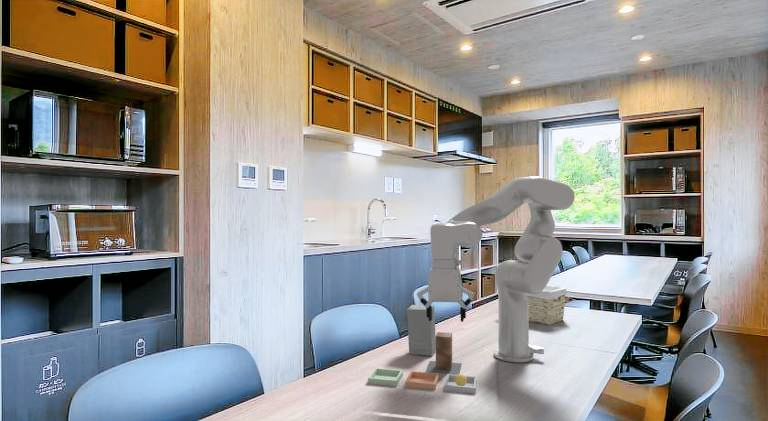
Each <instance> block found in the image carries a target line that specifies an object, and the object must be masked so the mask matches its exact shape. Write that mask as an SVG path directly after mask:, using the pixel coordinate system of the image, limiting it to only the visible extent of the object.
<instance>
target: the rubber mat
mask: <svg viewBox="0 0 768 421" xmlns="http://www.w3.org/2000/svg"><path fill="white" fill-rule="evenodd" d="M462 365H463V364H462V363H461V362H452V368H451V371H448V370H436V360H429V362H428V364H427V367H426V369H425V371H424V372H429V373H439V374H443V375H447V374H453V375H458V374H461V369H462Z"/></svg>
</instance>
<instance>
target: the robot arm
mask: <svg viewBox="0 0 768 421" xmlns="http://www.w3.org/2000/svg"><path fill="white" fill-rule="evenodd" d="M574 203H575V193H574V190H573V188H571V186H570V185H568V184H566V183H563V182H560V181H559V182H558V181H556V180H552V179H549V178H545V177H541V176H522V177H516V178H513V179H512V180H510V181H508V182H507V183H506V184H504V185H503V186H502V187H501V188H499V189H498V190H496V191H495V192H493V194H491V195H490V196H488V197H487V198H485V199H484V200H481V201H479V202H478V203H476V204H474V205H471V206H469V207H467V208H465V209H464V210H461V211H460V212H458V213H457V214H455V215H454V216H453V217H451V219H449V220H448V221H447V222H446V223H443V222H442V223H434V224H432V225H431V226H430V228H429V229H430V232H429V233H430V250H431V251H430V253H431V254H430V255H431V256H430V257H431V258H430V259H431V267H430V268H429V272H428V283H427V284H428V285H427V286H428V287H426V288H423V289H421V290H419V291H417V293H416V296H417V298H418V300H419V301H420V303H421V305H424V306H425V307H426V311H427V318H429V321H431V320H432V306H433V305H432V304H433V303H457V304H459V306H460V309H459V311H460V313H459V314H460V322H462V323H464V319H467V311H466V308H467V307H468V306H469V305H470V304H471V302H472V300H473V298H474V297H475V292H473V291H471V290H470V289H468V288H465V287H463V283H462V282H463V281H462V274H461V270H460V267H458V266H460V265H462V260H461V259H457V247H458V246H459V247H473V246H476V245H477V244H479V243H480V242H481V240H482V238H483V231H482V228H481V227H482V226H487V225H490V224H491V225H492V224H495V223H498V222H501V221H503V220H505V219H506V218H507V217H509V216H510V215H511V214H512V213H514V212H515V211H516V210H517V209H518V208H520V207H522V205H524V204H528V208H529V212H530V219H529V222H528V224H527V226H526V227H525V229H524V230H523V232H522V234H521V236H520V237H519V239H518V240H517V242H516V244H515V246H514V255H515V257H516V258H517V259H518V260H512V259H508V260H504V261H501V262H500V263H499V264H498V265H497V267H496V270H495V273H494V274H495V275H494V276H495V283H496V289H497V295H498V348H496V349H494V351H493V356H494V357H495V358H497V359H498V360H500V361H505V362H509V363H522V364H523V363H527V362H532V361H533V360H534V358H535V357H534V356H535V355H534V354H538V355H544V354H545V351H544V347H540V346H537V345H534V346H533V345H531V344H530V340H529V323H530V321H529V304H528V299H527V295H526V293H528V294H537V293H539V292H541V291H542V290H543V289H544V288H545V287H546V285H548V283H549V282H550V280H551V278H552V277H553V275H554V273H555V272H556V269H557V268H558V266H559V263H560V262H561V260H562V256H563V246H562V243H561V241H560V240H559V239H558V238H556V237H554V236H552V235H553V234H554V231H555V228H556V227H555V226H556V225H555V220H554V216H553V214H552V211H564V210H567V209H569V208H571V206H573V204H574ZM425 294H428V297H427V298H428V300H427V299H426V298H425V297H424V295H425ZM463 294H465V295H467V296H468V297H467V298H466V300H465V301H464V299H463V296H464V295H463ZM431 305H432V306H431Z"/></svg>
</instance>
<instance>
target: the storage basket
mask: <svg viewBox="0 0 768 421" xmlns="http://www.w3.org/2000/svg"><path fill="white" fill-rule="evenodd" d="M526 295H527V299H528V304H529V322H532V323H537V324H542V325H553V324H555V323H558V322H561V321H562V320H564V316H565V305H566V304H565V303H566V295H567V288H566V287H563V286H562V287H561V286H559V285H558V286H557V285H551V284H547V285H546V287H545V288H544V289H543V290H542V291H541V292H539V293H537V294H528V293H526Z"/></svg>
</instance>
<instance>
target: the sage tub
mask: <svg viewBox="0 0 768 421" xmlns="http://www.w3.org/2000/svg"><path fill="white" fill-rule="evenodd" d="M403 376H404V370H403V369H393V368H392V369H390V368H381V367H375V368H374V369H373V370H372V372H371V373H370V375H369V376H368V378H367V384H370V385H379V386H381V385H382V386H389V387H390V386H392V387H398V385H399V384H400V381H401V379H402V378H403Z"/></svg>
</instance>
